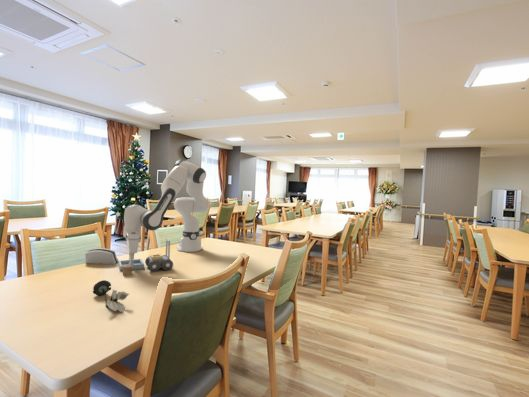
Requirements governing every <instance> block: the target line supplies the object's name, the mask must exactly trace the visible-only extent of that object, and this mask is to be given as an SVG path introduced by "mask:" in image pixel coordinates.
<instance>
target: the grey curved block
mask: <svg viewBox="0 0 529 397" xmlns="http://www.w3.org/2000/svg"><path fill="white" fill-rule="evenodd" d="M84 255H85V256H84V257H85V263H86V264H101V263H102V264H105V265H106V264H107V265H109V264H110V265H115V264H117V263H118V262H119V261H120V260H119V258H118V257H117V254H116V251H115V250H113V249H110V248H104V247H103V248H102V247H99V248H98V247H97V248H96V247H95V248H91V249H88V250H87V251H86V252H85V254H84Z"/></svg>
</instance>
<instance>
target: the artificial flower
mask: <svg viewBox="0 0 529 397" xmlns="http://www.w3.org/2000/svg"><path fill="white" fill-rule="evenodd" d="M111 290H112V293H111V295H110V296H111V297H110V299H109V300H108V299H107V293H108V292H110V291H111ZM92 293H93V294H94V295H96V296H98V297H100V296H104V300H105V307H106V308H109V309H110V310H112V311H114V312H116V311H119V312H120V313H125V312H126V311H127V309H126V305H124V304H123V303H121V302H120V301H124V300H126V299H127V297H128V296H129V295H130V293H129V292H128V293H127V292H126V291H118V290H115V289H112V284H111V282H110V281H108V280H104V279H103V280H99V281H98V282H96V283H95V284H94V285H93V287H92ZM125 309H126V310H125ZM124 311H125V312H124Z"/></svg>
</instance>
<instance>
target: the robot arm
mask: <svg viewBox="0 0 529 397" xmlns="http://www.w3.org/2000/svg"><path fill="white" fill-rule="evenodd" d="M206 177H207V171H206V170H205V169H204V168H202V167H200V166H198V165H197V164H195V163H192V162H190V161H187V160H185V159H182V158H181V159H178V160H177V161H175V163H174V164H173V168H172V169H171V170H170V171H169V173H168V174H167V175H166V177H165V178H164V180H163V181H162V183H161V186H160V191H161V197H160V198H159V200H158V201H157V203H156V205H155V207H154V208H153V209H152V210H150V209H148V208H145V207H143V206H142V205H140V204H131V205H128V206H126V207H125V209H124V213H123V222H124V224H123V225H124V226H123V231H122V232H123V235H122V236H123V237H124V238H125V241H126V247H127V249H128V254H129V253H130V259H135V254H137V253H138V250H139V243H140V239H141V235H142V233H141V232H142V227H144V228H145V229H146V230H148V231H156V230H158V229H160V228H161V226H162V224H163V221H164V217H165V214H166V212H167V211H168V209H169V207H170V206H171V204H172V203H173V207H174V210H175V211H176V212H178V213H179V214H180V215H181V218H182V221H183V230H182V236H181V238H180V239H179V240H177V245H176V249H177V251H178V252H186V253H187V252H188V253H189V252H190V253H193V252H194V253H195V252H200V251H201V250H203V249H204V247H203V246H202V238H201V237H200V235H201V234H200V220H199V219H198V218H196V217H195V216H193V215H192V213H205V212H208V211H209V210H210V208H211V202H210V201H209V199H208V198H206V196H204V193H203V192H204V191H203V190H204V181H205V179H206ZM186 181H187V182H186ZM185 183H186V189H185V190H186V193H187V195H189V197H187V196H185V197H184V196H182V197H177V198H176V196H177V195H178V194H179V192H180V191H181V189H182V188H183V186H184V185H185ZM175 198H176V199H175ZM174 199H175V200H174ZM173 201H174V202H173Z"/></svg>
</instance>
